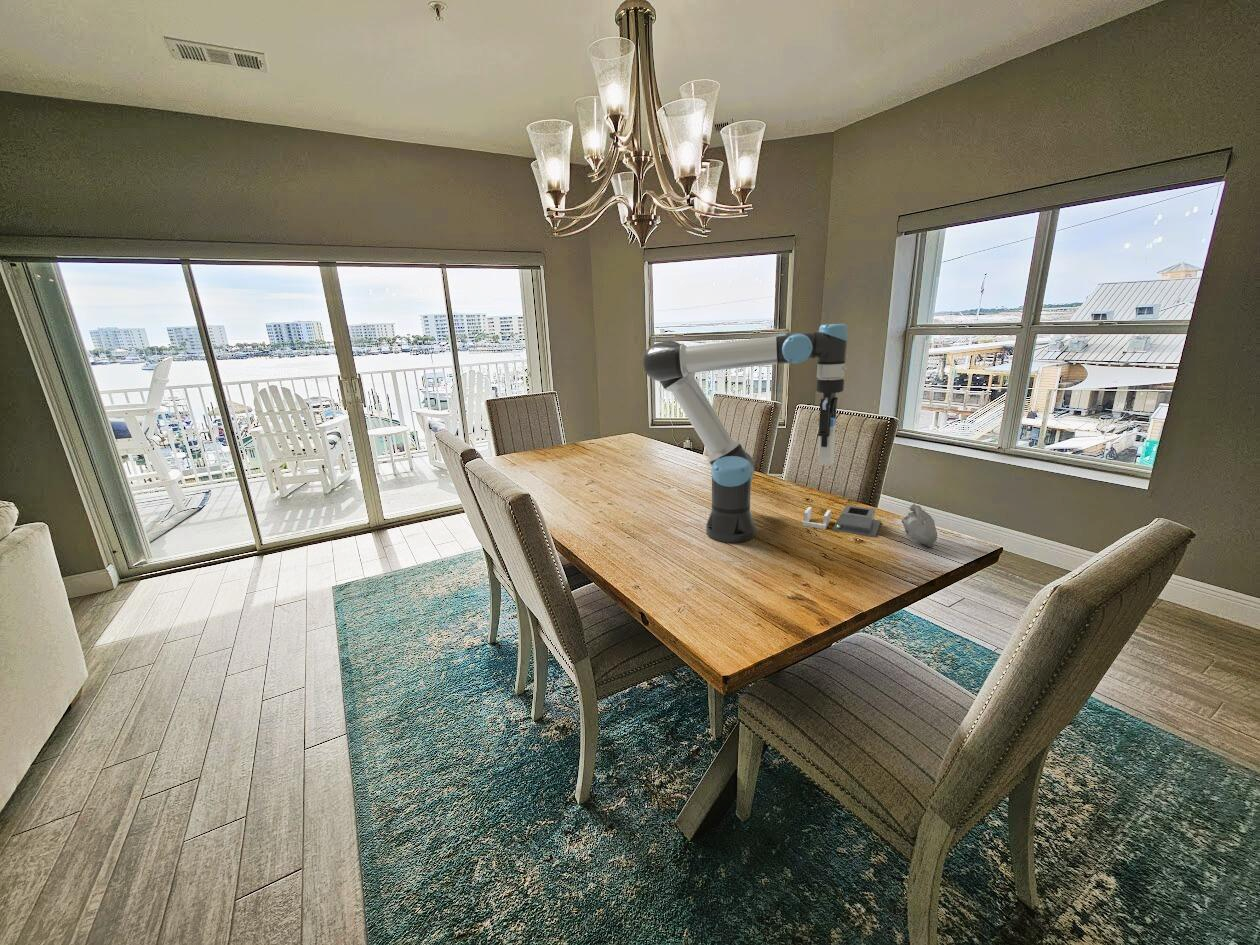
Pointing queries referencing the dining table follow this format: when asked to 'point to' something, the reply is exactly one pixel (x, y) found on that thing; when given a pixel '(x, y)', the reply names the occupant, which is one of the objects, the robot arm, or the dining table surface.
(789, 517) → the dining table surface
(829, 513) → the holster
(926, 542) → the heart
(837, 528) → the port panel
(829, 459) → the plug
